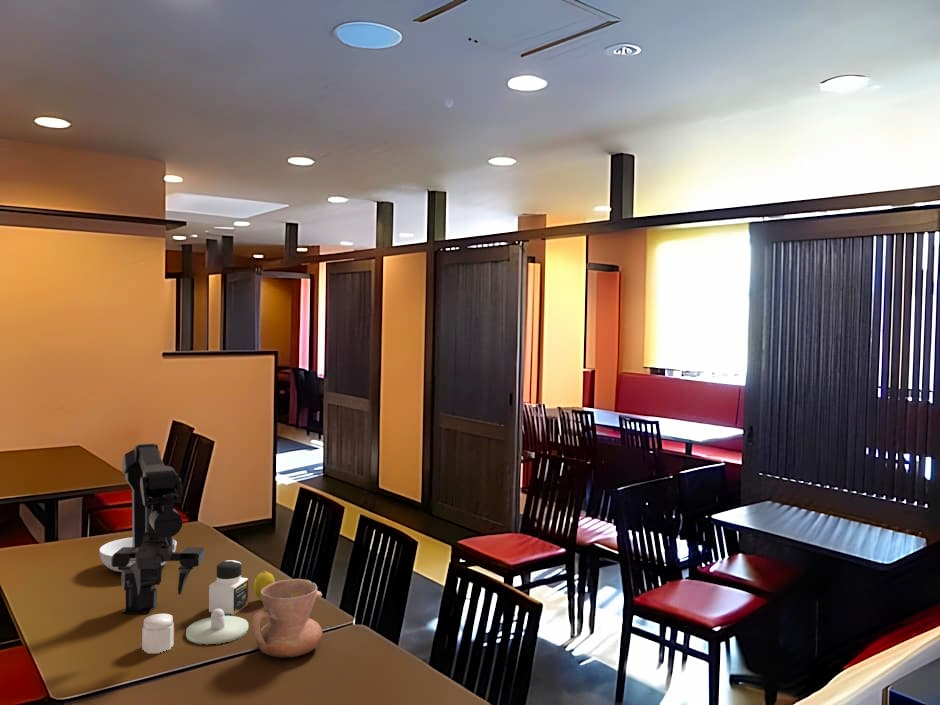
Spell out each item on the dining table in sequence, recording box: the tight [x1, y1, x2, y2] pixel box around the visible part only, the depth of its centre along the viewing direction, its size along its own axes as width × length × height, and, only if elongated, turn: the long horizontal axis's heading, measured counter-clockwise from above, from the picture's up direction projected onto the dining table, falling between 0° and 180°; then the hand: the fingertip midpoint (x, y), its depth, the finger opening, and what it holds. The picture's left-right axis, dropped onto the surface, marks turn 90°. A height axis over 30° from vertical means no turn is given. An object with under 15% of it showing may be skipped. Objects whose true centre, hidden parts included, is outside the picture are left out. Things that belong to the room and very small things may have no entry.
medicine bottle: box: [208, 559, 249, 616], centre depth 185 cm, size 7×7×12 cm
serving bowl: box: [99, 536, 178, 573], centre depth 213 cm, size 21×21×7 cm
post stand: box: [185, 609, 249, 646], centre depth 171 cm, size 14×14×6 cm
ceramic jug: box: [251, 578, 323, 659], centre depth 162 cm, size 18×14×14 cm
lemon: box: [253, 570, 276, 600], centre depth 190 cm, size 6×6×8 cm
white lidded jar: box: [141, 613, 175, 654], centre depth 162 cm, size 6×6×6 cm
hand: (158, 594), depth 162 cm, fingers open, 9 cm apart
